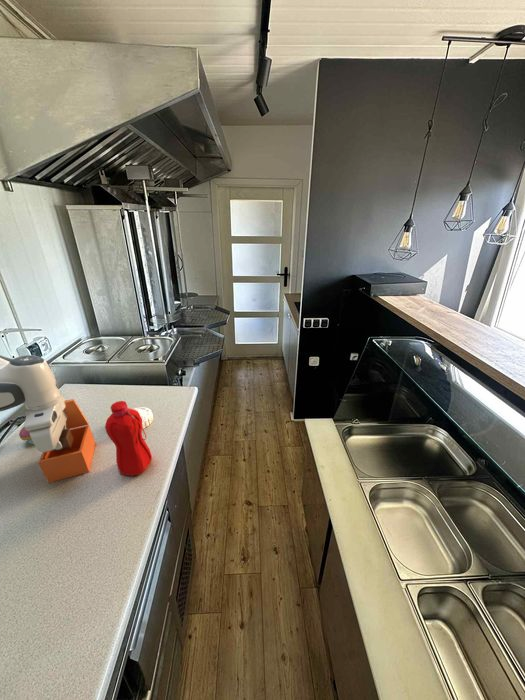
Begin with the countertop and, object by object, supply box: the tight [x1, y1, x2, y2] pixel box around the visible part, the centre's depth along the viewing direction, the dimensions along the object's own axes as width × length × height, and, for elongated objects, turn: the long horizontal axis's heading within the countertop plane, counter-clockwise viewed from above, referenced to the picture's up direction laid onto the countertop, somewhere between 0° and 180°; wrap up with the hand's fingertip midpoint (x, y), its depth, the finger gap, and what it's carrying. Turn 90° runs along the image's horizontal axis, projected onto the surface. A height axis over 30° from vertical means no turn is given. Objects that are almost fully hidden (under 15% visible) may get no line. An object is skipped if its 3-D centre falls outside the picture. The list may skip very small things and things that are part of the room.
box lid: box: [64, 398, 90, 429], centre depth 94 cm, size 14×12×1 cm
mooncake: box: [133, 406, 154, 430], centre depth 114 cm, size 12×12×4 cm
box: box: [37, 424, 97, 483], centre depth 95 cm, size 14×12×9 cm
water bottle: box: [104, 400, 153, 477], centre depth 90 cm, size 9×11×25 cm
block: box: [54, 429, 73, 452], centre depth 91 cm, size 4×4×4 cm
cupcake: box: [18, 426, 34, 445], centre depth 105 cm, size 9×8×12 cm
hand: (62, 441), depth 91 cm, fingers closed on block, 4 cm apart
